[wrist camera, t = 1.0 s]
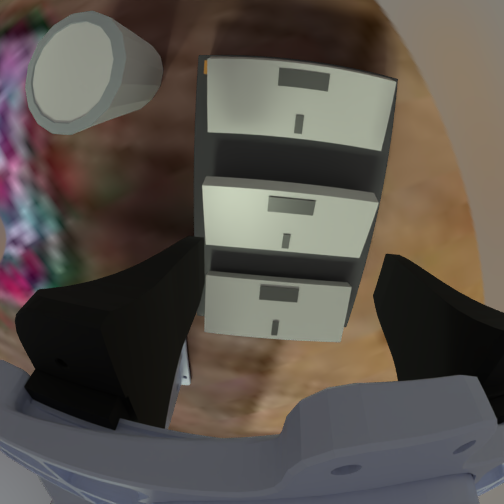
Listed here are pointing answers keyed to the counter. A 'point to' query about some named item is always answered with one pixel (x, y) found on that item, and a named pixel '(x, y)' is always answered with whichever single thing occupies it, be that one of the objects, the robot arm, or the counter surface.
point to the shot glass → (90, 73)
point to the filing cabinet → (285, 170)
